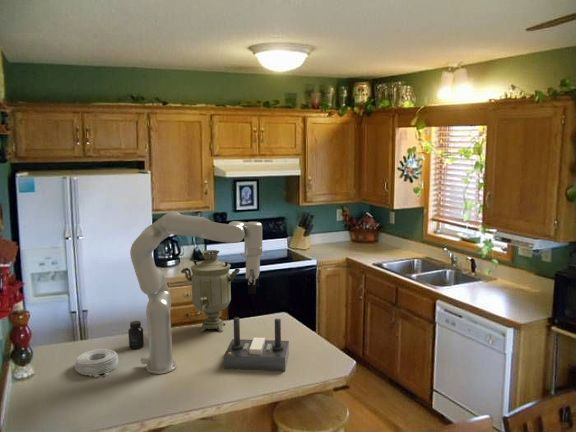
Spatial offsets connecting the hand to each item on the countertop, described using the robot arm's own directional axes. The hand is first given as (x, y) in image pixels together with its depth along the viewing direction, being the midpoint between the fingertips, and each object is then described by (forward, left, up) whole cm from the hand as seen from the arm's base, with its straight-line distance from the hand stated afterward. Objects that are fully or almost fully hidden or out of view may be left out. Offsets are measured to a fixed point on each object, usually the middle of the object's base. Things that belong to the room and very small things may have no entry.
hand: (253, 290), depth 228 cm
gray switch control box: (+1, +1, -32) cm, 32 cm away
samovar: (-29, +36, -33) cm, 56 cm away
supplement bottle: (-58, +12, -33) cm, 67 cm away
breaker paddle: (+1, +1, -31) cm, 31 cm away
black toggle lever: (+10, +1, -26) cm, 28 cm away
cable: (-66, -11, -33) cm, 75 cm away
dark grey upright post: (-8, +1, -26) cm, 28 cm away
